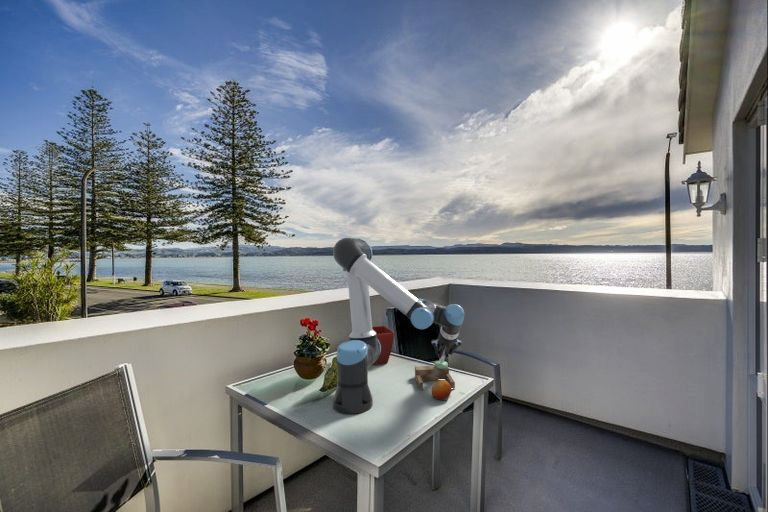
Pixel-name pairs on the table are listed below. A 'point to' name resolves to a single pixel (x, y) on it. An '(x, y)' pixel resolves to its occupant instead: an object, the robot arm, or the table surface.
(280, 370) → the table surface
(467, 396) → the table surface
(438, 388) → the fruit
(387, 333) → the plant pot
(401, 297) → the robot arm
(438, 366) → the button
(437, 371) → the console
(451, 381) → the brown wooden u shape
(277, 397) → the table surface
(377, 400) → the table surface
